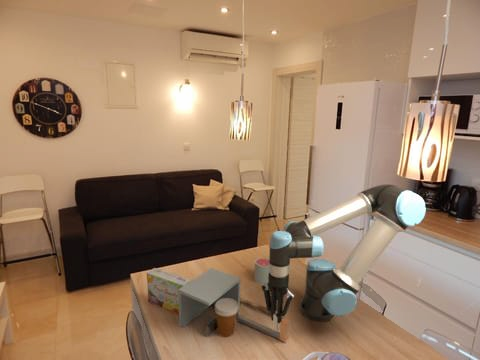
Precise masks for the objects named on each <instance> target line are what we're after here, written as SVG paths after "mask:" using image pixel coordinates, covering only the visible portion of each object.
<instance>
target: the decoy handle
mask: <svg viewBox="0 0 480 360" xmlns="http://www.w3.org/2000/svg"><path fill="white" fill-rule="evenodd" d="M271 300H272V298H271ZM240 304H241V305H244V306H247V307H249V308H250V309H253V310H255V311H258V312H260V313H263V314H265V315H267V316H269V317H271V312H270V311H268V310H267V307H266V306H262V305H260V304H258V303H255V302H253V301H250V300H247V299H245V298H243V297H240Z"/></svg>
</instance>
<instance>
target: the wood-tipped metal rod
mask: <svg viewBox="0 0 480 360" xmlns="http://www.w3.org/2000/svg"><path fill="white" fill-rule="evenodd" d="M237 321H238V322H240V323H242V324H245V325H246V326H249V327H252V328H253V329H256V330H258V331H261V332H262V333H264V334H267V335H269V336H271V337H274V338H276V339H278V340H279V341H281V342H283V343H287V342H288V340H289V337H290V335H289V334H290V320H289V319H287V318H284V317H282V321H281V322H280V324H279V331H278V330H277V331H274V330H273V328H272V327H269V326H266V325H263V324H262V323H260V322H258V321H255V320H253V319H250V318H248V317H245V316H243V315H241V314H237V317H236V322H237ZM216 331H218V326H217V319H216V317H214V318H213V319H212V320H211V321H209V322H208V323H207V324H206V325H205V336H207V337H210V336H212V335H213V334H214V332H216Z"/></svg>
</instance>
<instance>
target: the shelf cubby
mask: <svg viewBox="0 0 480 360" xmlns="http://www.w3.org/2000/svg"><path fill="white" fill-rule="evenodd" d="M191 280H192V281H191V282H189V283H188V284H186V285H185V286H183V287H181V288H180V289H178V295H179V314H178V322H179V323H178V325H179V326H178V327H179V328H180V329H182V328H184V327H185V326H186V325H187V324H189V323H190V322H191V321H192V320H193V319H195V318H197V316H199V315H200V314H202V312H203V311H205V310H206V309H208V308H209V307H210V306H211V305H214V306H215V304H216V302H217V301H218V300H220V299H222V298H231V299H233V300H235V301H236V302H237V304H238V306H239V309H238V312H237V314H239V315H241V314H240V310H241V309H240V306H241V305H240V304H241V303H240V298H241V278H240V277H238V276H235V275H232V274H230V273H227V272H223V271H220V270H218V269H215V268H212V267H211V268H209V269H208V270H207V271H205V272H203V273H202V274H200V275H199V276H197V277H195V278H194V279H191Z"/></svg>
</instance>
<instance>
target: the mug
mask: <svg viewBox="0 0 480 360" xmlns="http://www.w3.org/2000/svg"><path fill="white" fill-rule="evenodd" d="M268 275H269V258H266V257H260V258H257V259H255V260H254V277H253V279H254V282H255V283H256V284H258V285H262V286H263V285H264V284H265V283H266V284H267V283H268Z"/></svg>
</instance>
